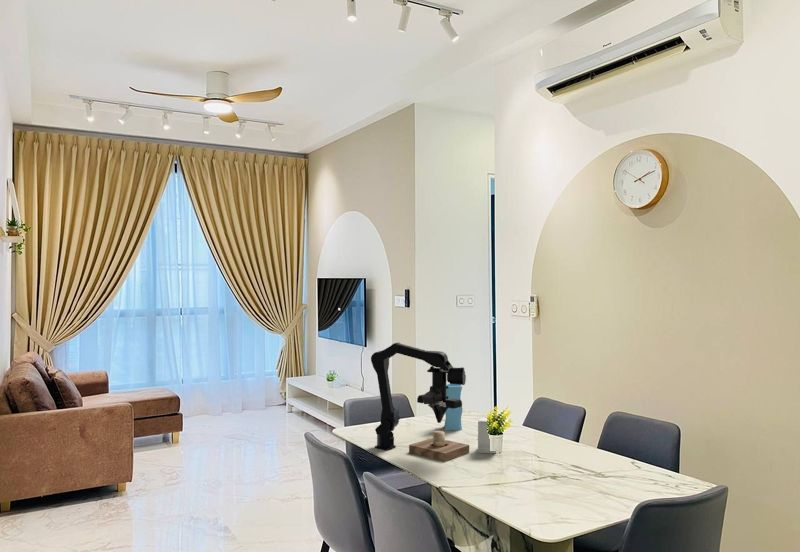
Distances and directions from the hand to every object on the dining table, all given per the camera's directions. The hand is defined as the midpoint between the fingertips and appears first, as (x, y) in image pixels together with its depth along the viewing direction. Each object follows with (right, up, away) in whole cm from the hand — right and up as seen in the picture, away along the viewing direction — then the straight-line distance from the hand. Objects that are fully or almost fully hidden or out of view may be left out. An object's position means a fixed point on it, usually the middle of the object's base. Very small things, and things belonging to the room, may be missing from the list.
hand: (439, 422), depth 242 cm
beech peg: (0, -12, 0) cm, 12 cm away
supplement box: (+20, -12, +3) cm, 23 cm away
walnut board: (0, -12, 0) cm, 12 cm away
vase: (+9, -13, +41) cm, 44 cm away
